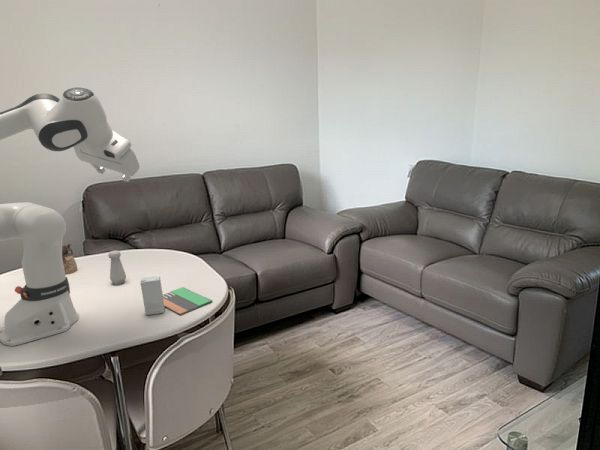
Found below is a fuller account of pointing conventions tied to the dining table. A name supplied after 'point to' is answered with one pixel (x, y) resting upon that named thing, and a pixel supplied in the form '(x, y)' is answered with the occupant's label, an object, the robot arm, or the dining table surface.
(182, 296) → the striped book
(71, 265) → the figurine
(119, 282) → the salt shaker
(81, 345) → the dining table surface
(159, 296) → the skincare box
